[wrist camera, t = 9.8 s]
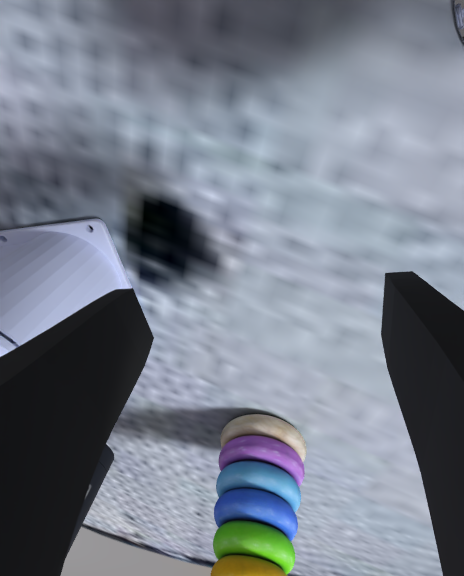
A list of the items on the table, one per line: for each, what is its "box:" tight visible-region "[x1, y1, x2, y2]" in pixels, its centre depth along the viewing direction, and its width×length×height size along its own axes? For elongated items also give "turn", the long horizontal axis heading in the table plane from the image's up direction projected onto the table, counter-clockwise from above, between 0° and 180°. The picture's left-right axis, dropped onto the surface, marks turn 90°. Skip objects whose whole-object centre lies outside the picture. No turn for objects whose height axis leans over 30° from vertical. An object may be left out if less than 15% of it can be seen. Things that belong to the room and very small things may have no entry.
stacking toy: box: [211, 414, 306, 576], centre depth 24 cm, size 8×8×19 cm
